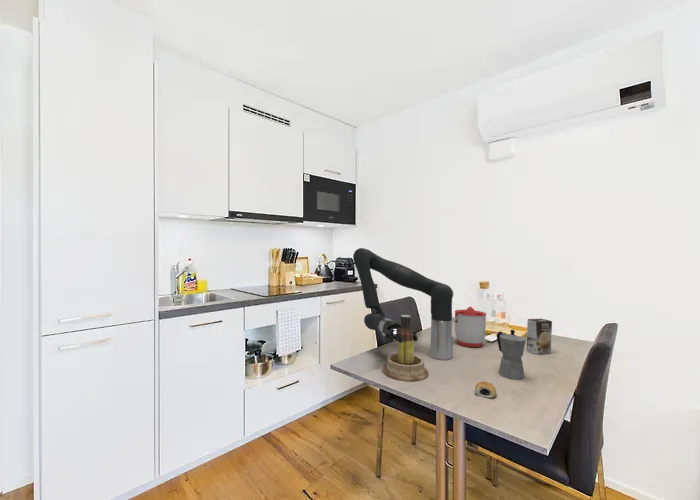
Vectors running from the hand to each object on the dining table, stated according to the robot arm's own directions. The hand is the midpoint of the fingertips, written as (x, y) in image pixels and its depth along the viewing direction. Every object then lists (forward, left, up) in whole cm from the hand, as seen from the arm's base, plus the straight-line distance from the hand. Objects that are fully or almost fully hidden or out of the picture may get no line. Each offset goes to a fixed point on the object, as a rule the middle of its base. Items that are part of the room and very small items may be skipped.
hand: (409, 339), depth 124 cm
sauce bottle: (0, -2, -11) cm, 11 cm away
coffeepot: (-40, +11, -14) cm, 44 cm away
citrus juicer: (-51, -27, -14) cm, 60 cm away
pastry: (-18, +22, -14) cm, 31 cm away
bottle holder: (0, -2, -14) cm, 14 cm away
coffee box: (-77, -7, -14) cm, 79 cm away
